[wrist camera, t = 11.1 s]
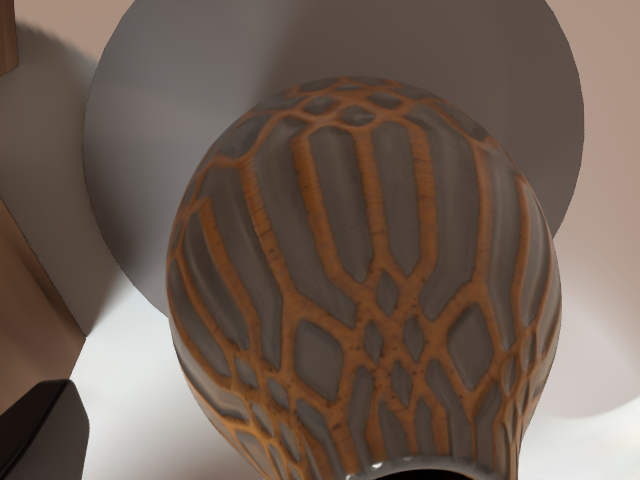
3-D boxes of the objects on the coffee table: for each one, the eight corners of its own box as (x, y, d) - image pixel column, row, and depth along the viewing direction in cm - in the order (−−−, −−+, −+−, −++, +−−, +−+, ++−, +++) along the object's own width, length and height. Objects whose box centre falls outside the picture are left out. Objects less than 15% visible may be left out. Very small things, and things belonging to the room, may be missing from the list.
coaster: (537, 336, 18) (545, 349, 17) (150, 373, 17) (146, 388, 17) (618, -121, 11) (635, -123, 11) (17, -77, 11) (4, -76, 11)
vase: (380, -29, 11) (589, 101, 4) (522, 211, 15) (790, 541, 7) (130, 162, 13) (-63, 512, 6) (305, 340, 16) (333, 718, 9)
